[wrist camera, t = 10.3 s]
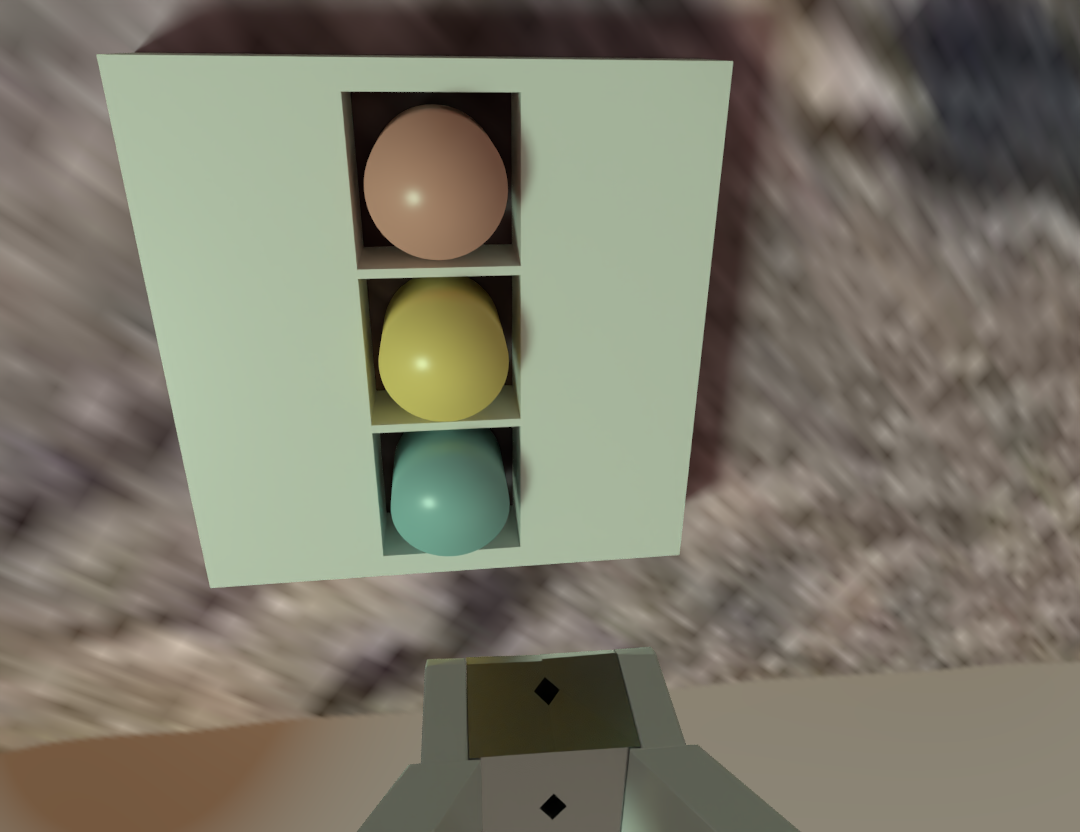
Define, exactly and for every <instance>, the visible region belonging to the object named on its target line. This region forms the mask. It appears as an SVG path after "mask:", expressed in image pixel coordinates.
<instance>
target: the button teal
mask: <svg viewBox="0 0 1080 832" xmlns="http://www.w3.org/2000/svg"><path fill="white" fill-rule="evenodd" d="M509 508H510V501H509V494H508V488H507V483H506V477H505V472H504V466H503V461H502V456H501V450H500V446H499V443H498V441H497V439H496V437H495V435H494V434H493V433H492V431H491V430H490V429H489V428H473V429H452V430H431V431H411V432H404V433H403V435H402V436H401V438H400V440H399V442H398V444H397V447H396V450H395V456H394V468H393V482H392V495H391V515H392V520H393V523H394V525H395V527H396V529H397V531H398V532H399V534H400V535H401V536H402V537H403V538H404V539H405V541H407V542H408V543H409V544H410V545H412V546H413V547H415V548H417V549H419V550H421V551H423V552H426V553H429V554H432V555H437V556H459V555H464V554H468V553H471V552H474V551H476V550H478V549H480V548H482V547H484V546H485V545H487V544H488V543H490V542H491V541H492V540H493V539H494V538H495V537H496V536H497V535H498V534H499V533H500V531H501V530H502V529H503V527H504V525H505V523H506V521H507V518H508V514H509Z"/></svg>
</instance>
